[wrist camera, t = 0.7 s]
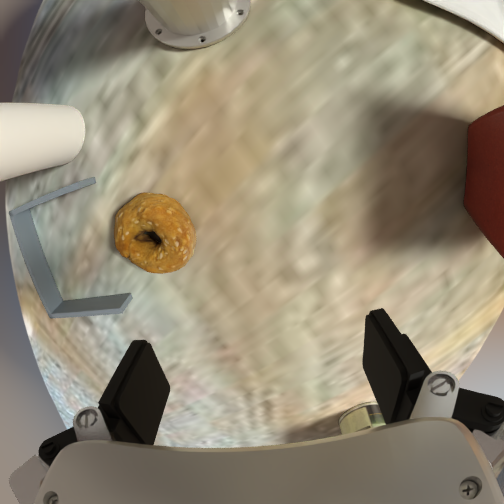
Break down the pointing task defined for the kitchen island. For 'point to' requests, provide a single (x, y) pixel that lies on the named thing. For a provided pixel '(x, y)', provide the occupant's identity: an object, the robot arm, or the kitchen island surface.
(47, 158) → the cup
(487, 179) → the plant pot
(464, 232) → the kitchen island surface
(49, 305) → the box
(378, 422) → the coffee can
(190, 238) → the bagel
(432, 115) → the kitchen island surface
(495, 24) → the square plate
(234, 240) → the kitchen island surface
